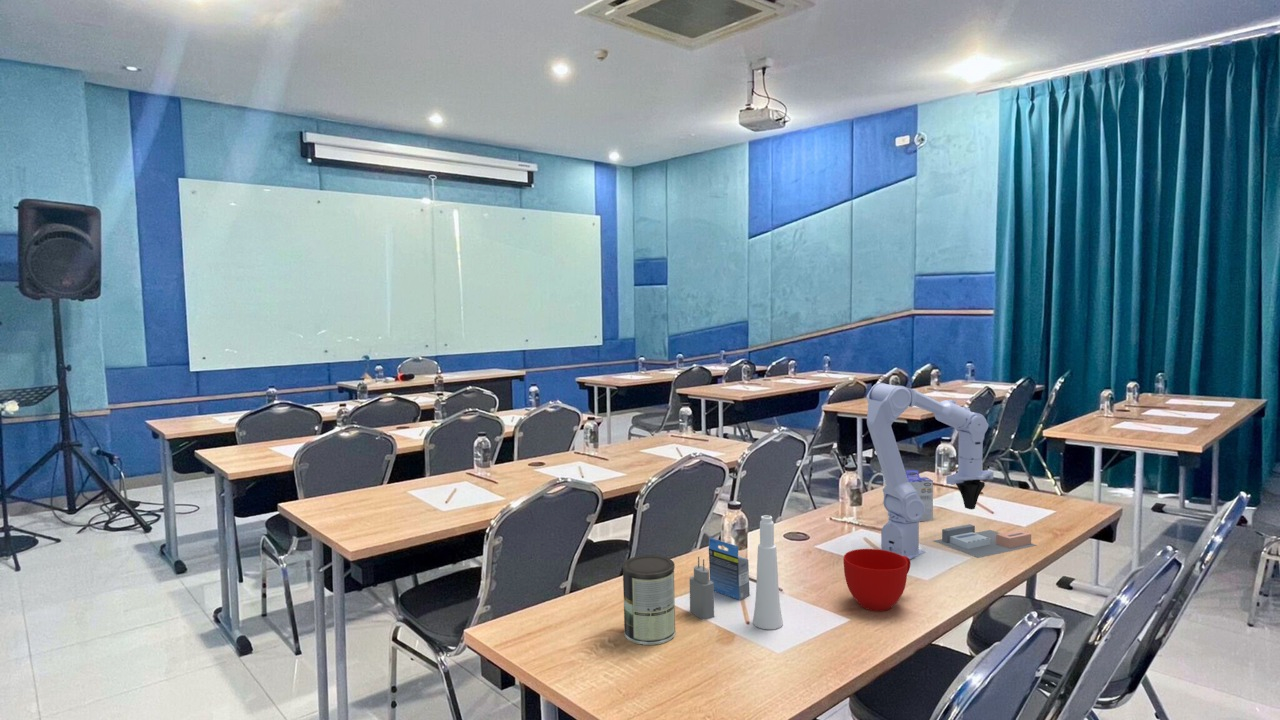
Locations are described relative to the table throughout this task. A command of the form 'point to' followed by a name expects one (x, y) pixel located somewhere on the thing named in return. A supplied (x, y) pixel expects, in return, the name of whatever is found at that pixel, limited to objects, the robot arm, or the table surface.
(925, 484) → the ink cartridge box
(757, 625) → the cosmetic bottle
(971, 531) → the grey stepped housing
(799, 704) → the table surface
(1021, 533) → the stub
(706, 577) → the power adapter
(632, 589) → the coffee can
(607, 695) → the table surface
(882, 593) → the ceramic cup
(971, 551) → the desk mat
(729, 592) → the label tape box
